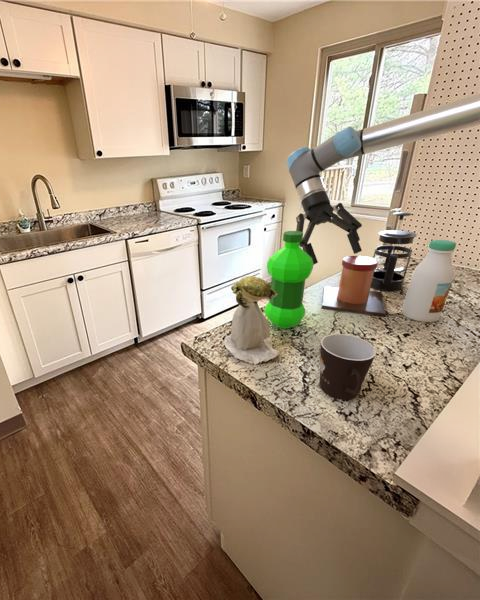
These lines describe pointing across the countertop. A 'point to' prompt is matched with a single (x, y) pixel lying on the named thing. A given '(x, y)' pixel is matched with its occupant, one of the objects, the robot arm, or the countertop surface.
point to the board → (370, 307)
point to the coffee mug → (344, 365)
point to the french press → (392, 258)
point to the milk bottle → (430, 283)
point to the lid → (359, 263)
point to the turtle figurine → (251, 322)
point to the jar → (355, 286)
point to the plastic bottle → (288, 281)
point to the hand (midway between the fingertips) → (336, 258)
